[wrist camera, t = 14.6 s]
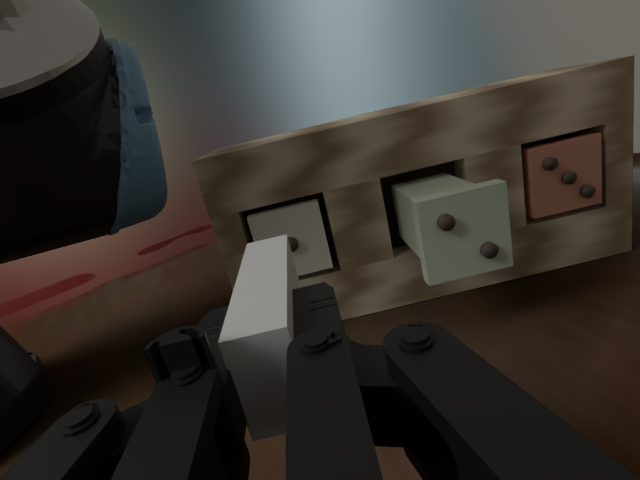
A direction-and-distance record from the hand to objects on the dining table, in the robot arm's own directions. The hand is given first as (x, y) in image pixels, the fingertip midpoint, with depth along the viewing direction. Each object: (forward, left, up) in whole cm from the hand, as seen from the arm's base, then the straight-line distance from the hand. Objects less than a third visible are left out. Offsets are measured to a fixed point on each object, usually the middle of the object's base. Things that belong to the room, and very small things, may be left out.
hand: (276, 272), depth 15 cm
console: (+10, +19, -10) cm, 23 cm away
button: (0, +17, -6) cm, 18 cm away
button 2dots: (+10, +11, -6) cm, 15 cm away
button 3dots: (+20, +17, -6) cm, 27 cm away
